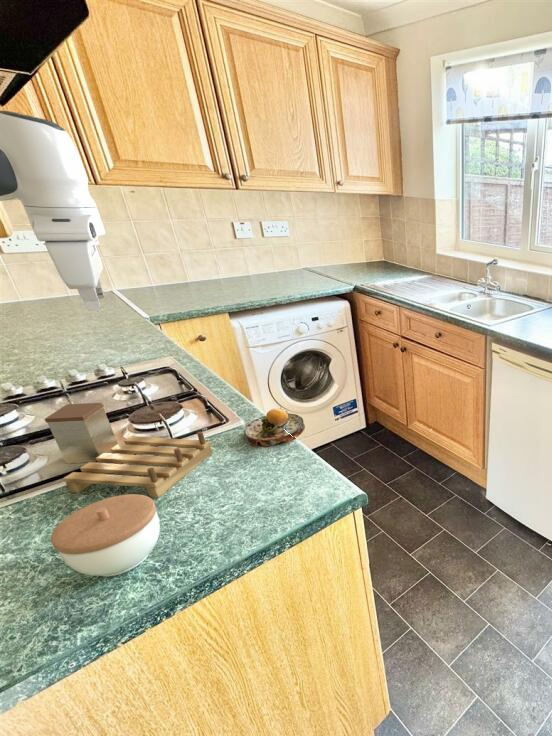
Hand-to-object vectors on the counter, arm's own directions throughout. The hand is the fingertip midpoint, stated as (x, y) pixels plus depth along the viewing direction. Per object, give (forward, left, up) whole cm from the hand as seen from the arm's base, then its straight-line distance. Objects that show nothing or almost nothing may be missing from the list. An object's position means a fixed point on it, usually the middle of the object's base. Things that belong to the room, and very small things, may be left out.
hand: (96, 303), depth 78 cm
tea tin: (-4, -7, -29) cm, 30 cm away
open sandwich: (+26, +5, -29) cm, 39 cm away
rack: (+10, -11, -29) cm, 33 cm away
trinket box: (+23, -31, -29) cm, 48 cm away
